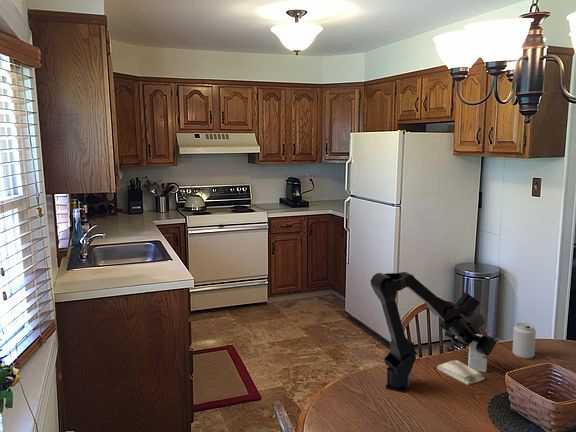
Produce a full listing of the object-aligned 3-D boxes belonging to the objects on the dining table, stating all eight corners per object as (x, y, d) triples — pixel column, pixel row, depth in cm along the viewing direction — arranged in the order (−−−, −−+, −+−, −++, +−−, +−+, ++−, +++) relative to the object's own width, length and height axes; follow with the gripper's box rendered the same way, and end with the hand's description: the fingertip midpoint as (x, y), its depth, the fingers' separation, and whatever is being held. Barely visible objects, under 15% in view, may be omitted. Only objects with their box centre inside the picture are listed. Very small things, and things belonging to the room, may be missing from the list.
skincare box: (468, 370, 171) (469, 337, 170) (467, 365, 175) (468, 333, 174) (487, 372, 169) (488, 339, 168) (486, 367, 174) (487, 334, 172)
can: (532, 361, 177) (533, 330, 176) (510, 356, 182) (511, 326, 180) (536, 354, 183) (537, 324, 182) (515, 349, 188) (516, 320, 186)
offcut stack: (467, 385, 161) (467, 378, 160) (436, 368, 173) (436, 362, 173) (484, 379, 164) (485, 372, 164) (453, 363, 177) (453, 357, 176)
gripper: (493, 315, 159) (515, 340, 166) (451, 300, 176) (472, 324, 182) (475, 343, 157) (498, 367, 163) (434, 325, 173) (456, 348, 180)
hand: (480, 350), depth 172 cm, fingers closed on skincare box, 7 cm apart
